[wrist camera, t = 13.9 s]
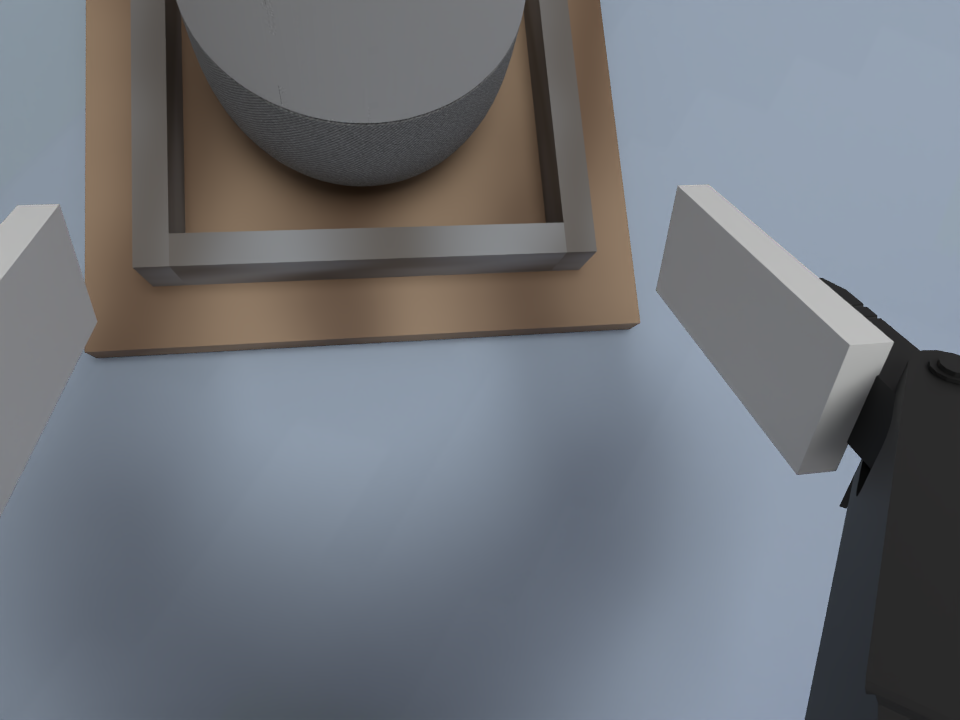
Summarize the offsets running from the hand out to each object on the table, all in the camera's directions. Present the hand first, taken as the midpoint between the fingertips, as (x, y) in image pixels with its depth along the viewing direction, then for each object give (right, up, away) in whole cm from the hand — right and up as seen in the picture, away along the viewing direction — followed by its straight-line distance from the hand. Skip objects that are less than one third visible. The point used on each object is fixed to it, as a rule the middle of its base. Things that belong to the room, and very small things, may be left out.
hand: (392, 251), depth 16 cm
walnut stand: (-2, +7, +10) cm, 12 cm away
